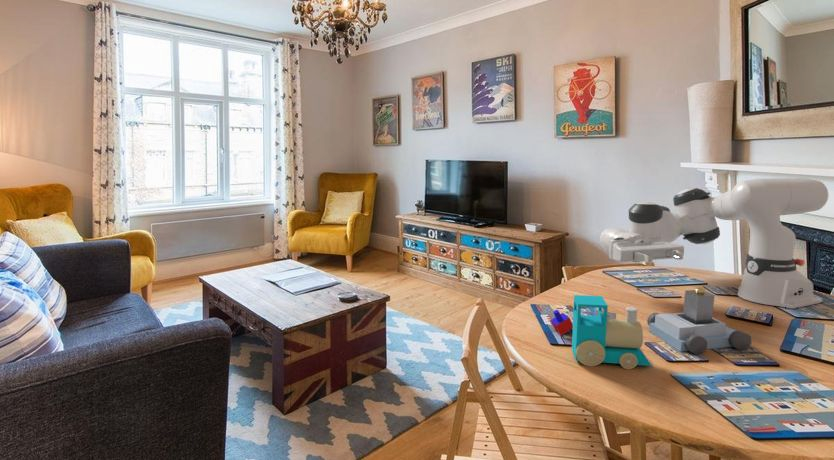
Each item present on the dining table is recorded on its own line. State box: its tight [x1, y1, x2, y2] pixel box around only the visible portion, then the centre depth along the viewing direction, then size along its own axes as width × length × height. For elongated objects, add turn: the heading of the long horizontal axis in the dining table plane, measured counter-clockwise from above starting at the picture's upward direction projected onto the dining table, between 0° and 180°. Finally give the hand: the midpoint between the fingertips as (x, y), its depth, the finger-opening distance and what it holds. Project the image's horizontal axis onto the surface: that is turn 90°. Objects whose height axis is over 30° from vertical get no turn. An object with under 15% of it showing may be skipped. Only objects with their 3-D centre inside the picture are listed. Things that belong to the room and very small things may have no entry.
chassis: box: [646, 312, 752, 355], centre depth 113 cm, size 18×16×6 cm
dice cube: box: [593, 309, 617, 320], centre depth 119 cm, size 5×5×5 cm
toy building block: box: [550, 309, 573, 336], centre depth 119 cm, size 4×4×8 cm
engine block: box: [682, 287, 715, 325], centre depth 112 cm, size 4×4×11 cm
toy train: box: [571, 294, 653, 370], centre depth 102 cm, size 8×17×15 cm, turn 78°
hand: (665, 258), depth 122 cm, fingers open, 8 cm apart
